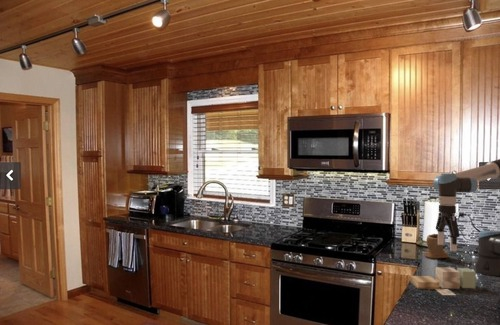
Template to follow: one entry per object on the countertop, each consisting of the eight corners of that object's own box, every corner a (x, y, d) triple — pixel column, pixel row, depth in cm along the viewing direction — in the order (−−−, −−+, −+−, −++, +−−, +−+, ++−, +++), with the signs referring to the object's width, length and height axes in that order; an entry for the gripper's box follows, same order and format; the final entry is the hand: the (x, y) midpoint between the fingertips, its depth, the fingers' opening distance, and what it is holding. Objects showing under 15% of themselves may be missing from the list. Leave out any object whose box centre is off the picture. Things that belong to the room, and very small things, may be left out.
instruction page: (447, 289, 184) (447, 288, 184) (456, 295, 176) (456, 294, 176) (435, 289, 184) (435, 288, 184) (442, 295, 176) (442, 294, 176)
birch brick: (451, 283, 193) (451, 267, 193) (459, 288, 185) (459, 272, 185) (435, 283, 194) (435, 267, 194) (442, 288, 186) (442, 271, 186)
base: (430, 281, 195) (430, 276, 195) (440, 288, 184) (440, 282, 184) (409, 281, 196) (409, 275, 196) (417, 288, 185) (417, 282, 185)
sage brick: (468, 284, 192) (469, 268, 192) (475, 288, 186) (475, 271, 186) (456, 284, 192) (456, 268, 192) (462, 288, 186) (462, 271, 186)
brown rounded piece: (429, 260, 238) (429, 236, 238) (421, 255, 250) (421, 232, 250) (453, 260, 237) (454, 236, 237) (444, 255, 249) (444, 232, 249)
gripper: (429, 201, 202) (428, 242, 202) (451, 207, 177) (450, 253, 177) (443, 202, 202) (443, 242, 202) (468, 208, 177) (467, 253, 177)
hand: (446, 247), depth 190 cm, fingers open, 13 cm apart
